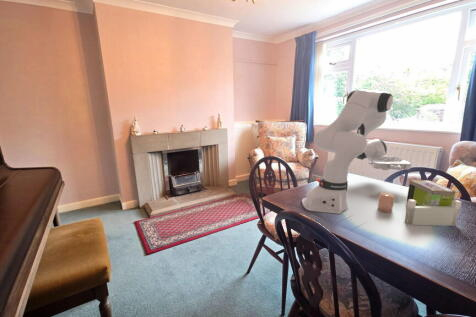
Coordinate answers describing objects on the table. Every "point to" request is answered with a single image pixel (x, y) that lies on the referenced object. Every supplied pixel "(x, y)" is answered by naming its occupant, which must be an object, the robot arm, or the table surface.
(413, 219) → the display rail
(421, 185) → the tea box
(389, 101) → the robot arm
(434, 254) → the table surface
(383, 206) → the tan small cylinder
